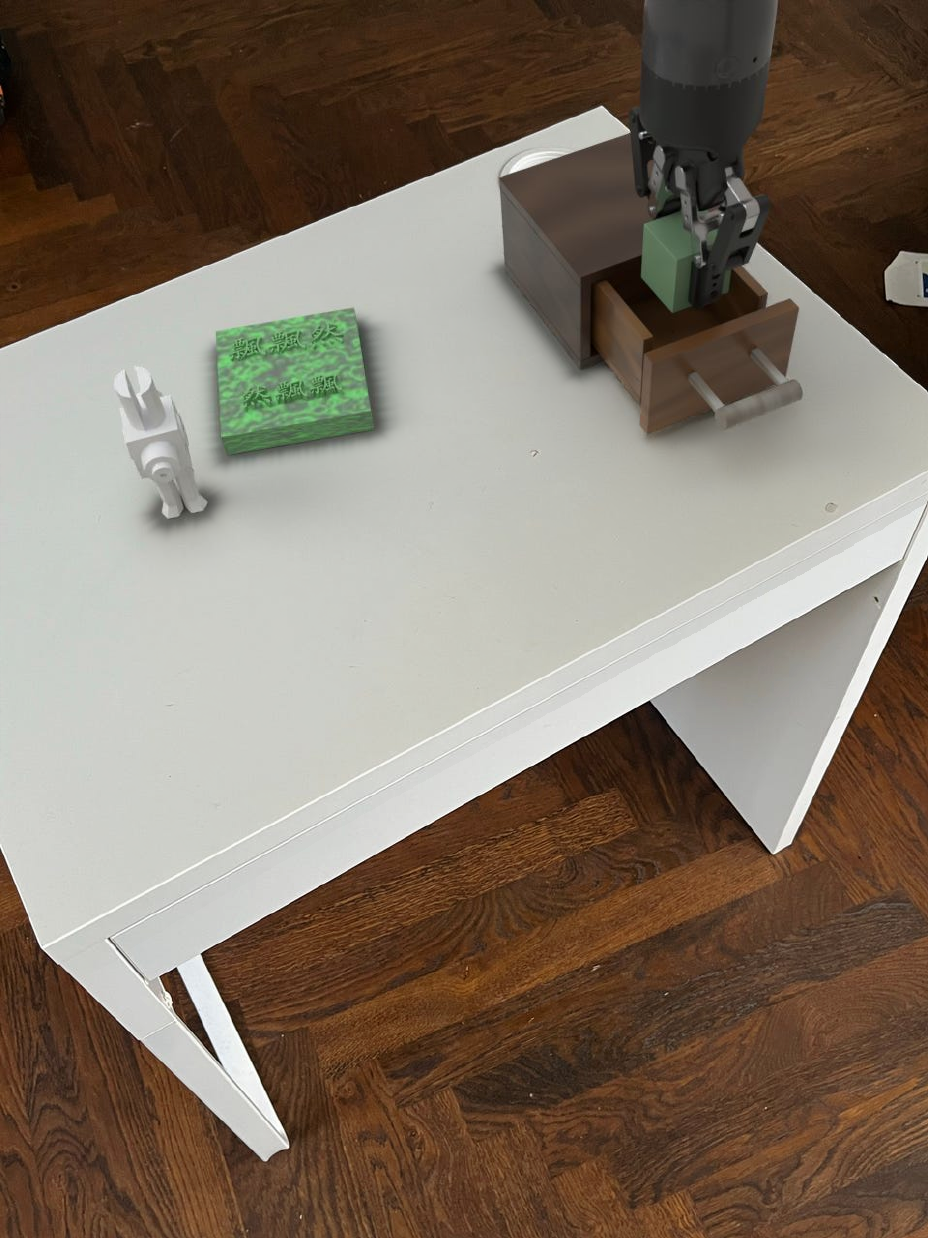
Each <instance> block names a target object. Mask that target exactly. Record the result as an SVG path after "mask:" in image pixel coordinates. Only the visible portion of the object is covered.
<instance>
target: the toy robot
mask: <svg viewBox="0 0 928 1238" xmlns="http://www.w3.org/2000/svg"><path fill="white" fill-rule="evenodd" d="M133 366H134V370H135V373H136V375H137V379H138V383H139V392H138V393H136V392H135V390H134V388H133V386H132V383H131V380H130V378H129V376H128V373H127V371H126V369H125V368H123V369H122V370H120V371H119V372H118V373H116V375H115V377H114V381H113V386H114V391H115V394H116V395H117V397H118V400H119V402H120V404H121V407H119V413H120V419H121V425H122V430H121V431H122V437H123V440H124V441H123V442H124V444H125V447H126V450H127V452H128V455H129V457H130V459H131V460H132V461H133V463H134V465H135V467H136V469H137V471H138V473H139V476H140V478H141V479H142V480H143V479H149V480H151V481H152V482H153V484H154V486H155V487H156V489H157V490H158V491H157V492H158V493H159V496H160V499H161V500H162V509H161V514H162V515H163V516H165V518H166V519H167V520H168V519H173V518H178V517H180V515H181V514H182V512H183V510H184V506H185V508H186V509H187V510H188V511H189V512H190V513H191V514H194V513H199V512H203V511H204V510H205V508H206V506H207V504H208V501H207V500H206V499H205V498H204V497H203V496H202V495H201V494H200V493H199V488H198V485H197V483H196V480H195V470H194V468H193V463H192V457H191V454H190V453H191V452H190V448H189V446H190V443H189V442H190V441H189V438H188V434H187V431H186V428H185V424H184V422H183V418H182V416H181V414H180V413H179V412H178V410H177V408H176V405H175V403H174V400H173V397H172V395H171V394H167V395H163V393H162V392H161V391H159V390H157V387H156V385H155V382H154V379H153V378H152V375H151V373H150V372H149V371H148V370H147V369H146V368H144V367H143V366H138V365H133ZM174 479H175V480H174ZM182 501H183V502H182ZM183 503H184V505H183Z"/></svg>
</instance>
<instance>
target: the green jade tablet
mask: <svg viewBox="0 0 928 1238" xmlns="http://www.w3.org/2000/svg"><path fill="white" fill-rule="evenodd" d="M215 344H216V345H215V347H216V366H217V381H218V382H217V383H218V384H217V385H218V403H219V405H218V406H219V421H220V423H219V424H220V437H221V440H222V443H223V447H224V449H225V452H226V454H227V456H231V455H236V454H241V453H249V452H253V451H260V450H266V449H270V448H276V447H282V446H288V445H294V444H299V443H304V442H310V441H315V440H322V439H328V438H333V437H339V436H344V435H349V434H356V433H360V432H367V431H372V430H373V431H374V430H375V424H374V418H373V417H374V416H373V411H372V404H371V399H370V398H371V397H370V393H369V387H368V381H367V374H366V368H365V361H364V357H363V356H364V355H363V350H362V349H363V348H362V343H361V337H360V332H359V325H358V321H357V316H356V310H355V307H353V306H352V307H348V308H342V309H337V310H336V309H335V310H331V311H324V312H318V313H312V314H308V315H301V316H296V317H295V316H294V317H291V318H285V319H284V318H283V319H277V320H272V321H265V322H262V323H256V324H255V323H254V324H249V325H243V326H238V327H232V328H225V329H221V330H215Z"/></svg>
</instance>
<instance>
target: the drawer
mask: <svg viewBox="0 0 928 1238" xmlns="http://www.w3.org/2000/svg"><path fill="white" fill-rule="evenodd" d="M641 267H642V265H640V266H637V267H634V268H632V269H629V270H626V271H623V272H621V273H618V274H615V275H612V276H610V277H607V278H604V279H601V280H599V281H596V282H593V283H591V337H590V342H591V344H592V345H593V346H594V348H595V349H596V350H597V351H598V353H599V354H600V355H601V357H602V358H603V359H604V362H605V363H606V364H607V366H608V368H610V369H611V371H612V372H613V373H614V374H615V376H616V377H617V378H618V380H619V381H620V382H621V384H622V385H623V386H624V388H625V389H626V390H627V391H628V392H629V394H630V395H631V396H632V397H633V399H634V401H636V403H637V404H638V406H640V414H639V427H640V428H641V429H642V430H643V432H644V433H645V434H646V436H649V435H652V434H654V433H656V432H659V431H662V430H664V429H665V430H666V429H667V428H669V427H672V426H675V425H677V424H680V423H682V422H685V421H687V420H690V419H691V418H692V419H693V418H694V417H697V416H700V415H702V414H705V413H708V412H710V411H713V412H714V418H715V421H716V424H717V426H718V427H719V429H720V430H722V431H726V430H729V429H731V428H735V427H736V426H739V425H741V424H744V423H746V422H749V421H752V420H754V419H757V418H760V417H762V416H764V415H766V414H769V413H772V412H774V411H777V410H778V409H782V408H784V407H786V406H789V405H792V404H794V403H796V402H799V401H801V400H802V399H803V397H804V392H803V387H802V385H801V383H800V382H799V381H798V380H797V379H794V378H793V379H790V380H788V379H787V372H788V368H789V361H790V357H791V352H792V347H793V343H794V338H795V331H796V327H797V326H796V325H797V321H798V316H799V312H800V306H798V305H797V304H796V303H795V301H793V300H792V298H790V297H789V298H787V299H784V300H782V301H779V302H776V303H773V304H770V305H768V306H767V302H768V296H769V292H768V291H767V289H765V288H764V287H763V285H761V284H760V283H759V281H758V280H757V279H756V278H755V277H753V275H752V274H750V272H749V271H748V270H747V269H746V268H745V267H744V265H742V266H739V267H737V268H734V269H731V274H730V282H729V289H728V293H725V294H722V296H721V298H720V300H717V301H716V302H714V303H712V304H709V305H706V306H704V307H701V308H698V309H695V308H694V307H693V306H690V307H688V308H685V309H682V310H680V311H677V312H674V313H672V312H671V311H670V310H669V309H668V308H667V307H666V305H665V304H664V303H663V302H662V301H661V300H660V298H659V297H658V296H657V295H656V294H655V293H654V292H653V290H652V289H651V288H650V287H649V286H648V285H647V283H646V282H645V281H644V280H643V279H642V278H641Z"/></svg>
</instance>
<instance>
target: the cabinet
mask: <svg viewBox="0 0 928 1238" xmlns="http://www.w3.org/2000/svg"><path fill="white" fill-rule="evenodd" d="M653 164H654V160H650V161H649V162H648V165H647V168H648V176H650V175H651V171H652V168H653ZM498 185H499V197H500V212H501V231H502V245H503V261H504V271H505V272H506V273H507V275H508V276H509V277H510V278H511V280H512V281H513V283H514V284H515V285H516V287H517V288H518V289H519V290H520V292H521V293H522V294H523V296H524V297H525V298H526V300H527V301H528V303H530V305H531V306H532V308H533V309H534V310H535V311H536V313H537V314H538V316H539V317H540V318H541V320H542V321H543V322H544V324H545V325H546V326H547V328H548V329H549V330H550V331H551V333H552V334H553V336H554V337H555V338H556V340H557V341H558V342H559V344H560V345H561V346H562V347H563V349H564V350H565V351H566V353H567V354H568V355H569V357H570V358H571V359H572V361H573V362H574V363H575V365H576V366H577V367H578V369H580V370H583V369H586V368H588V367H591V366H593V365H596V364H598V363H601V362H605V360H604V359H603V358H602V357H601V355H600V354H599V353H598V351H597V350H596V349H595V348H594V346H593V345H592V344H591V342H590V337H591V283H593V282H596V281H599V280H601V279H604V278H607V277H610V276H612V275H615V274H618V273H621V272H623V271H626V270H629V269H632V268H634V267H637V266H640V265H642V248H643V229H644V224H645V223H648V222H651V221H653V219H652V218H651V217H650V215H649V213H648V209H647V204H648V201H649V200H648V198H647V196H645V197H642V198H640V197H639V196H638V194H637V192H636V188H635V179H634V168H633V157H632V147H631V136H630V132H629V133H625V134H623V135H619V136H617V137H614V138H611V139H607V140H604V141H601V142H599V143H596V144H593V145H590V146H587V147H584V148H581V149H579V150H576V151H575V150H574V151H571V152H569V153H567V154H564V155H561V156H557V157H555V158H552V159H549V160H546V161H544V162H540V163H538V164H534V165H532V166H531V165H530V166H529V167H526V168H523V169H520V170H517V171H514V172H511V173H508V174H506V175H502V176H499V177H498ZM720 205H721V204H720ZM720 205H719V206H716V207H714V208H711V209H708V210H707V211H708V212H709V213H710V212H712V211H715V210H717V209H718V208H719V207H720ZM681 210H682V209H681Z"/></svg>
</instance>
